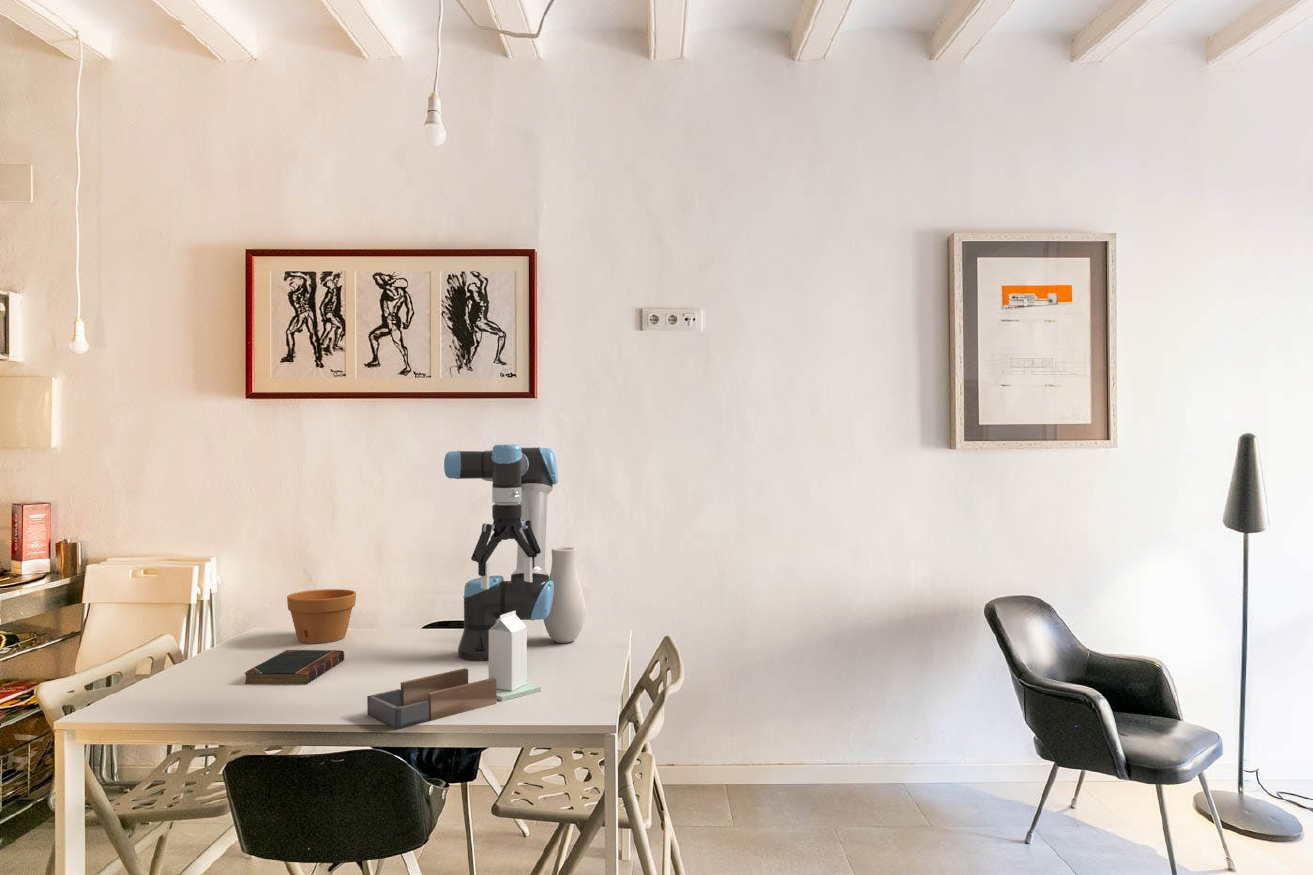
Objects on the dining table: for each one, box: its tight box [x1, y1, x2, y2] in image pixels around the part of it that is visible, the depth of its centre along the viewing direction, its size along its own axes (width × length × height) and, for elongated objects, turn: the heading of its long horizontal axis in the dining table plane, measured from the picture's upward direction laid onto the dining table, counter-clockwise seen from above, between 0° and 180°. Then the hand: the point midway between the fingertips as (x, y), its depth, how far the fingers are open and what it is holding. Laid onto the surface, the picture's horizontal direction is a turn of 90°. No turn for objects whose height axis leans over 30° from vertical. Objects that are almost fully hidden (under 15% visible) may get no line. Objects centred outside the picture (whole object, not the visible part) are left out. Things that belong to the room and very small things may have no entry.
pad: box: [496, 682, 542, 702], centre depth 215 cm, size 13×12×1 cm
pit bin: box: [366, 688, 430, 730], centre depth 194 cm, size 14×8×4 cm, turn 45°
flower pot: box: [286, 588, 357, 644], centre depth 274 cm, size 21×21×15 cm
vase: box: [542, 546, 586, 644], centre depth 270 cm, size 14×14×30 cm
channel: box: [400, 667, 497, 721], centre depth 203 cm, size 14×18×6 cm
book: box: [243, 649, 345, 685], centre depth 234 cm, size 17×4×25 cm
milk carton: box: [488, 611, 528, 691], centre depth 216 cm, size 7×7×19 cm
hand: (507, 585), depth 217 cm, fingers open, 13 cm apart
